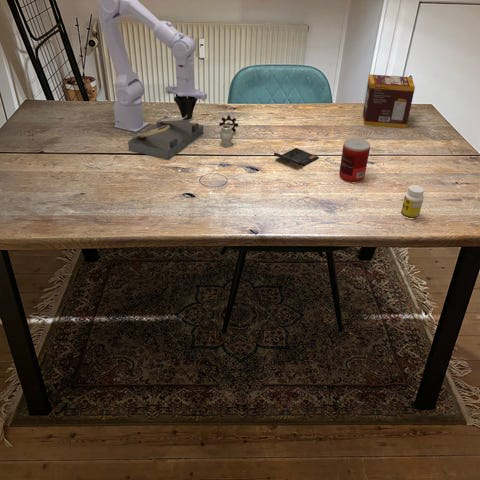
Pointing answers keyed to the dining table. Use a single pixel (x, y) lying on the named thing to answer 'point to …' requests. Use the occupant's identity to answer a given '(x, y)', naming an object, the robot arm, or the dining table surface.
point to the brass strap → (154, 131)
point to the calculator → (298, 157)
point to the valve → (227, 131)
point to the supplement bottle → (413, 201)
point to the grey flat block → (166, 139)
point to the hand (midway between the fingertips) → (186, 117)
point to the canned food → (354, 159)
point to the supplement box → (388, 101)
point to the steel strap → (176, 120)
